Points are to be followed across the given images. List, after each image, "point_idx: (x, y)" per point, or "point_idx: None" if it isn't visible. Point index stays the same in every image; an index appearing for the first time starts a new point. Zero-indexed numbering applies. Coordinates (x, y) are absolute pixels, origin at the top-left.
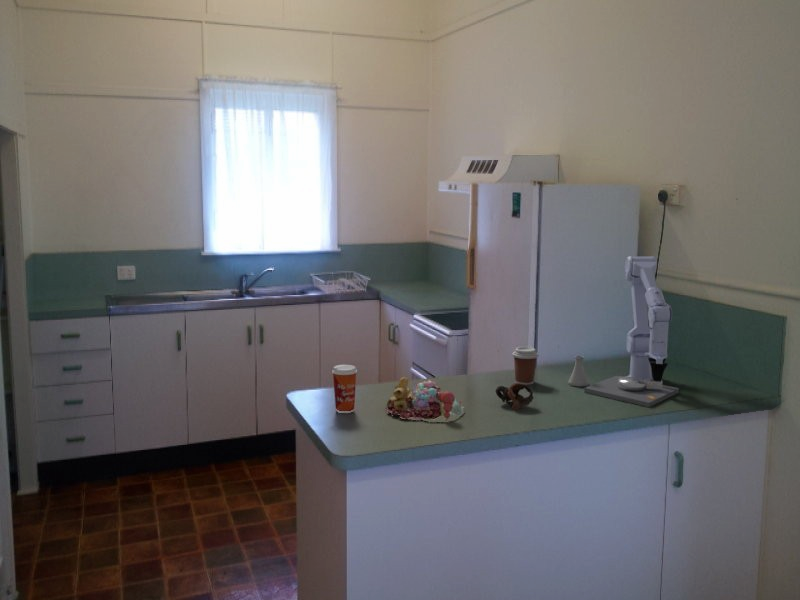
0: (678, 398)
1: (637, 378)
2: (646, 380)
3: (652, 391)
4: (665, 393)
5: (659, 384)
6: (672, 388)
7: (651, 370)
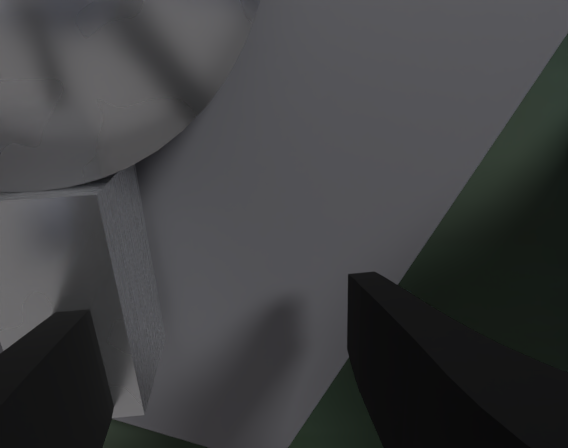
0: None
1: (161, 17)
2: (2, 199)
3: None
4: None
5: None
6: (251, 419)
7: (410, 326)
